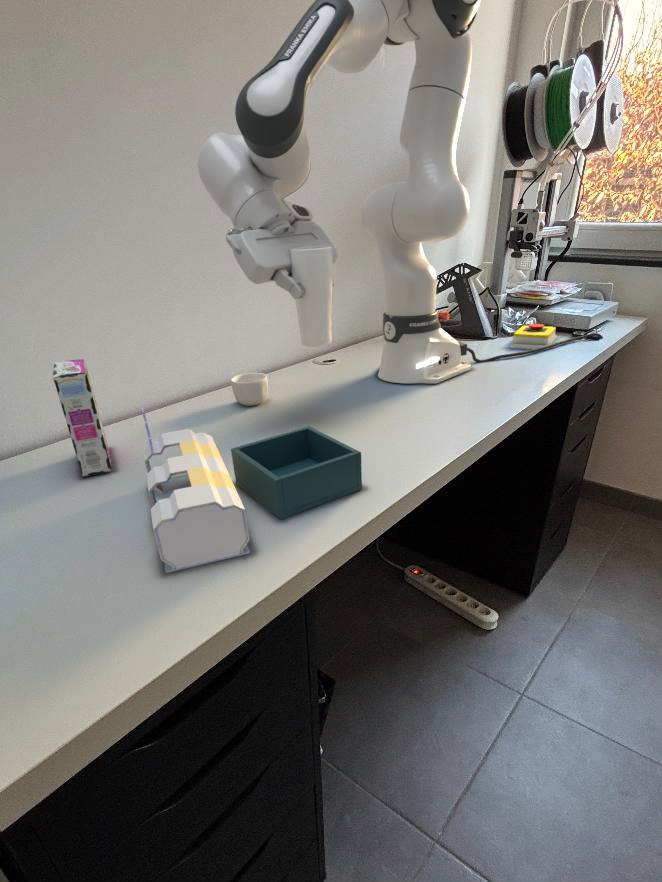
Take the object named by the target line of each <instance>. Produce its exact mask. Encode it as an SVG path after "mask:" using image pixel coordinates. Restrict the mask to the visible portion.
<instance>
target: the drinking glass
mask: <svg viewBox="0 0 662 882" xmlns="http://www.w3.org/2000/svg"><path fill="white" fill-rule="evenodd" d="M290 256H291V261H292V267H291V273H292V278H291V279H293V280H294V281H295V282H296V283H300V284H301V285H302V286H303V288H304V289H305V291H306V292H305V294H304V295H303V297H302V298H298V299H294V300H295V306H296V307H295V308H296V312H297V319H298V327H299V334H300V336H299V337H300V344H301V345H302V346H304V347H309V348H319V347H320V348H321V347H325V346H328V345H330V344H331V343H332V341H333V336H332V323H333V294H334V293H333V292H334V288H333V281H334V264H333V258H332V247H331V246H310V247H299V248H292V249H291V250H290Z"/></svg>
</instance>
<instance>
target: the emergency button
mask: <svg viewBox="0 0 662 882" xmlns="http://www.w3.org/2000/svg"><path fill="white" fill-rule="evenodd" d="M556 331H557V327H556V326H545V324H543V323H531V324H528V325H522V326H521V327H520V328H518V329H517V330H516V331H515V332H514V333H513V336H512V342H511V343H510V344H509V348H510V349H523V350H524V349H525V350H533V349H537V348H541V347H544V346H548V345H551V344H553V343H554V341H555V340H556V339H557V335H556Z"/></svg>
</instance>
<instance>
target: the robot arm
mask: <svg viewBox="0 0 662 882" xmlns="http://www.w3.org/2000/svg"><path fill="white" fill-rule="evenodd" d="M481 1H482V0H314V2H313V3H311V5H310V6H309V7H308V9H307V10H306V12H305V13H304V14H303V15H302V17H301V18H300V20H299V21H298V22H297V24H296V25H295V27H293V29H292V30H291V32H290V33H289V35H288V36H287V38H286V39H285V40H284V42H283V43H282V45H281V46H280V48H279V49H278V50H277V52H276V53H275V54H274V56H273V58H272V59H271V60H270V61H269V62H268V63H267V64H266V65H265V66H264V67H263V68H262V69H260V71H258V72H257V73H256V74H254V76H252V77H250V79H249V80H247V82H246V83H245V84H244V85H243V87H241V90H240V91H239V93H238V96H237V99H236V102H235V109H234V111H235V112H234V114H235V116H234V117H235V120H236V121H235V122H236V125H237V127H238V129H239V132H240V134H227V133H224V132H215V133H213V134H212V135H210V136H209V137H208V138H207V139H206V140H205V141H204V143H203V145H202V147H201V149H200V151H199V154H198V159H197V170H198V175H199V177H200V180H201V183H202V184H203V186H204V188H205V190H206V191H207V192H208V195H209V196H210V197H211V199H212V200H213V201H214V203H215V204H216V206H217V207H218V208H219V211H221V212H222V213H223V214H224V215H225V216H226V217H228V218H229V220H230V221H231V222H232V226H233V228H230V229H228V231H227V233H226V234H225V241H226V243H227V244H228V246H229V247H230V249H231V250H232V254H233V257H234V258H235V261H236V262H237V264H238V265H239V267H240V269H241V271H242V272H243V274H244V275H245V277H246V278H247V279H248V280H249V281H250V282H252V283H253V284H255V285H261V284H266V283H271V282H274V283H275V284H276V285H277V286H278V287H280V288H281V289H283V290H284V291H286V292H288V293H289V294H290V296H291V297H292V299H294V300H295V299H298V298H302V297H303V295H304V294H305V292H306V291H305V289H304V288H303V286H302V285H301V284H300V283H296V282H295V281H294V280H293V279H292V273H291V267H292V261H291V256H290V250H291V249H292V248H299V247H310V246H331V247H332V258H333V265H334V264H336V262H337V260H338V259H339V253H338V249H337V248H336V246H335V244H334V243H333V242H332V240H331V239H330V238H329V236H328V235H327V234H326V232H325V230H324V229H323V228H322V227H321V226H320V225H319V224H318V223H316V222H315V221H313V218H314V215H313V213H312V212H311V210H310V209H309V208H307V207H306V206H302V205H298V204H295V203H292V202H290V201H288V200H286V199H285V198H287V197H289V196H290V195H291V194H293V193H294V192H296V191H298V190H299V189H301V188H302V187H303V186H304V184H305V183H306V182H307V180H308V178H309V175H310V172H311V167H312V166H311V155H310V146H309V140H308V133H307V128H306V117H305V116H306V115H305V114H306V103H307V96H308V93H309V91H310V89H311V88H312V86H313V85H314V84H315V82H316V81H317V79H318V78H319V76H320V75H321V74H322V72H323V70H324V69H325V68H326V66H327V65H328V66H329V67H331V68H332V69H334V70H336V71H338V72H340V73H344V74H357V73H361V72H363V71H365V70H366V68H367V67H368V66H369V65H370V64H371V63H372V62H373V61H374V59H375V58H376V57H377V55H378V53H379V52H380V50H381V49H382V47H383V45H386V46H402V45H404V44H405V43H409V42H414V49H415V63H414V66H413V70H412V73H411V77H410V82H409V87H408V91H407V95H406V101H405V105H404V111H403V116H402V121H401V126H400V131H399V144H400V148H401V149H402V151H403V152H404V153H405V154H406V155H407V157H408V162H409V175H408V179H407V181H405V180H404V181H398V182H390V183H386V184H383V185H381V186H379V187H377V188H375V189H373V190H371V191H370V192H369V193H368V194H367V195H366V197H365V199H364V201H363V204H362V208H361V221H362V222H361V223H362V227H363V228H364V230H365V232H366V233H367V235H369V237H370V238H371V240H372V241H373V243H374V245H375V247H376V250H377V253H378V256H379V259H380V263H381V267H382V271H383V272H382V273H383V280H384V313H382V331H383V345H382V354H381V359H380V360H381V361H380V366H379V369H378V374H377V377H378V378H379V379H380V380H382V381H385V382H389V383H394V384H430V385H431V384H432V385H435V384H439V383H442V382H444V381H446V380H449V379H451V378H453V377H456V376H458V375H460V374H464V373H465V372H468V371H470V370H471V368H472V366H471V364H470V363H468V362H466V361H464V360H462V357H463V356H467V355H468V354H467V353H470V354H471V357H472V360H473V362H475V363H487V362H493V361H496V360H500V359H507V358H512V357H517V356H524V355H529V354H533V353H538V352H541V351H545V350H548V349H551V348H554V347H557V346H560V345H563V344H567V343H570V342H574V341H578V340H579V341H580V340H584V339H587V338H590V337H598V338H599V339H600V340H602V339H603V340H604V336H603V335H602V334H601V333H598V332H592V333H588V334H584V335H581V336H576V337H575V336H574V337H572V338H567V339H564V340H561V341H558V342H553V343H551V344H550V345H548V346H544V347H541V348H537V349H528V350H525V351H524V350H523V351H519V352H512V353H506V354H505V353H504V354H499V355H496V356H493V357H491V358H485V359H479V358H477V357H476V352H475V351H474V350H473V349H472V348H470V347H468V343H465V342H461V341H457V340H456V339H455V338H454V337H453V336H451V335H450V334H449V333H448V332H447V331H445V330H444V329H443V328H442V325H441V321H443V322H447V321H449V319H450V316H451V315H450V312H449V311H443V310H441V311H439V312H437V310H436V308H437V307H436V305H437V304H436V303H437V286H438V285H437V283H438V276H437V272H436V269H435V268H434V267H433V266H432V265H431V264H430V263H429V261H428V260H427V257H426V256H425V253H424V249H423V245H422V243H437V242H442V241H445V240H447V239H451V238H454V237H456V236H457V235H459V233H461V232H462V230H463V229H464V227H465V225H466V223H467V220H468V218H469V214H470V198H469V195H468V191H467V189H466V187H465V186H464V185H463V184H462V182H461V181H460V179H459V175H458V172H457V171H458V170H457V163H456V154H457V153H456V151H457V143H458V138H459V132H460V127H461V123H462V117H463V113H464V108H465V104H466V99H467V95H468V89H469V83H470V78H471V77H470V76H471V67H472V57H473V56H472V55H473V43H472V42H473V41H472V38H471V36H470V35H471V34H469V32H468V31H470V29H471V27H472V26H473V24H474V22H475V19H476V17H477V13H478V9H479V7H480V4H481ZM335 287H336V282H335V281H334V280H333V289H335Z"/></svg>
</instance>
